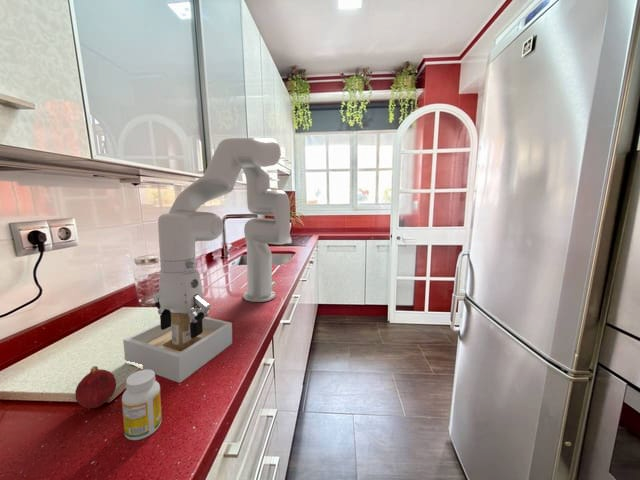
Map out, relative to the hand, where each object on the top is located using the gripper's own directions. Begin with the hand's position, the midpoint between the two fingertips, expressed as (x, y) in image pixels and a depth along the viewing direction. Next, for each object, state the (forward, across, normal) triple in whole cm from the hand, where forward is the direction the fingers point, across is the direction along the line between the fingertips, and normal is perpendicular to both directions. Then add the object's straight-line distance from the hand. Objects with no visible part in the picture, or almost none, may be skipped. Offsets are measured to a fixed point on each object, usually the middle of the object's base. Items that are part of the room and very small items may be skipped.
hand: (181, 331), depth 66 cm
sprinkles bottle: (+6, 0, 0) cm, 6 cm away
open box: (+6, 0, 0) cm, 6 cm away
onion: (+6, 0, +19) cm, 20 cm away
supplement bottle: (+6, -12, +19) cm, 23 cm away
